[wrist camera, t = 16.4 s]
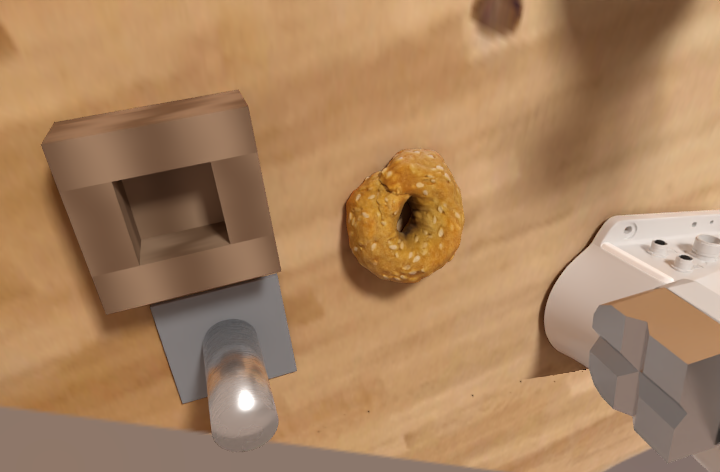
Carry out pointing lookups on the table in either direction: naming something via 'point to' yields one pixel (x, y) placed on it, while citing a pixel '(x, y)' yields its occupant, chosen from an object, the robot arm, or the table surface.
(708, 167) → the table surface
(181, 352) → the mat
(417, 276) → the bagel
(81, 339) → the table surface
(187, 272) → the pocket block
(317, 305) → the table surface
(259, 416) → the part
